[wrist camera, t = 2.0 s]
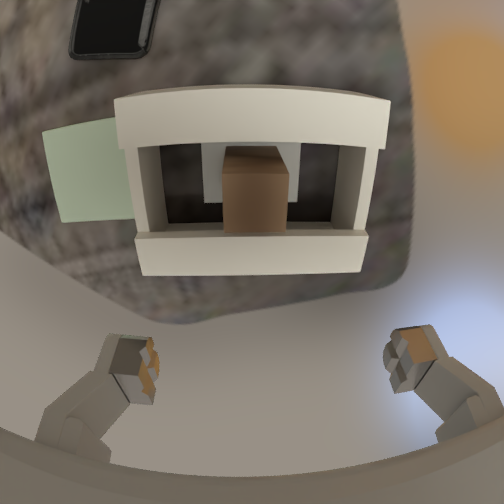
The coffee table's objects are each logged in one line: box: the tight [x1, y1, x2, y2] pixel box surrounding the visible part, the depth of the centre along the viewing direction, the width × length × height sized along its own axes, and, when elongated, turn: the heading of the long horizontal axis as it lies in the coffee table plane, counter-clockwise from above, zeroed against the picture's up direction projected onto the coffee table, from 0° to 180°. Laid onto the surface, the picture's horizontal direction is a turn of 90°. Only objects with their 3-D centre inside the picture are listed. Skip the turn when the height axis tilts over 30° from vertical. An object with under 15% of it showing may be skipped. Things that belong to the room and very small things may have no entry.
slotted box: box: [114, 84, 391, 276], centre depth 23 cm, size 18×14×7 cm
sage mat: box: [42, 117, 135, 223], centre depth 25 cm, size 10×10×1 cm
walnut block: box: [222, 146, 289, 233], centre depth 22 cm, size 4×4×7 cm
